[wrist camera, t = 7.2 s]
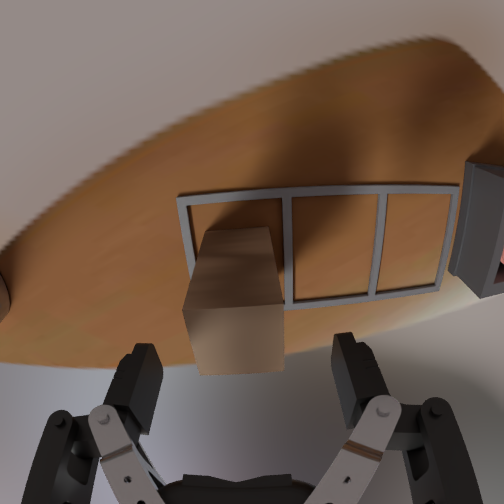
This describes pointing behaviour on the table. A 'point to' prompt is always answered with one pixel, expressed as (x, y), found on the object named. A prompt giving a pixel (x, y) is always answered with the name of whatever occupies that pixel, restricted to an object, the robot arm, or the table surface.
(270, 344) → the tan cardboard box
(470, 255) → the housing
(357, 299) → the frame
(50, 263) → the table surface
